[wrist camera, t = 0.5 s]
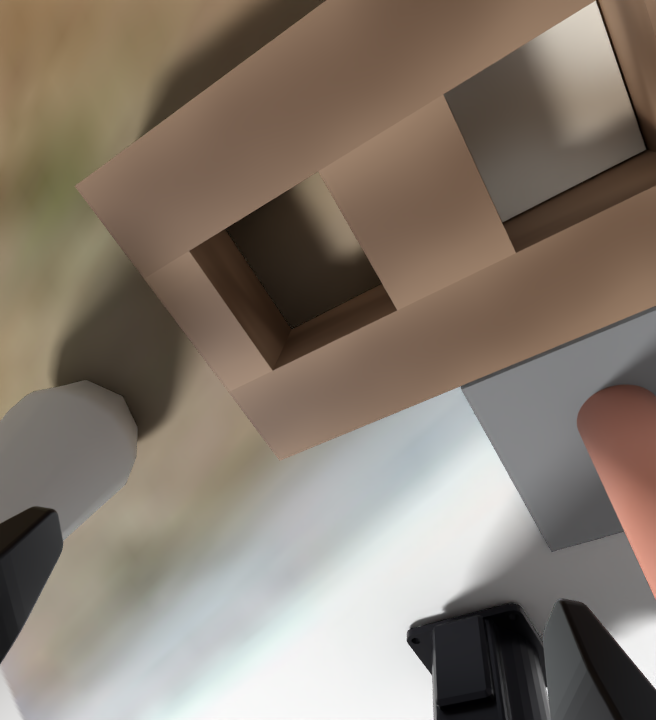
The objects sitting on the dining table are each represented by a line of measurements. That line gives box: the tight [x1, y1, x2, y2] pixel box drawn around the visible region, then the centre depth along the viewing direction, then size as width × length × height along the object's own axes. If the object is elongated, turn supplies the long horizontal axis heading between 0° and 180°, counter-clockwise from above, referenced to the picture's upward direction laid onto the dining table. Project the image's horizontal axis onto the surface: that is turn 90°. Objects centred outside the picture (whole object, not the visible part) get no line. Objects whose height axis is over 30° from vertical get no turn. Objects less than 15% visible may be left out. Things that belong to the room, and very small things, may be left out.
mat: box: [461, 306, 656, 552], centre depth 23 cm, size 10×10×1 cm
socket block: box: [75, 0, 656, 460], centre depth 18 cm, size 12×18×4 cm, turn 121°
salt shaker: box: [0, 380, 138, 540], centre depth 21 cm, size 6×6×13 cm
